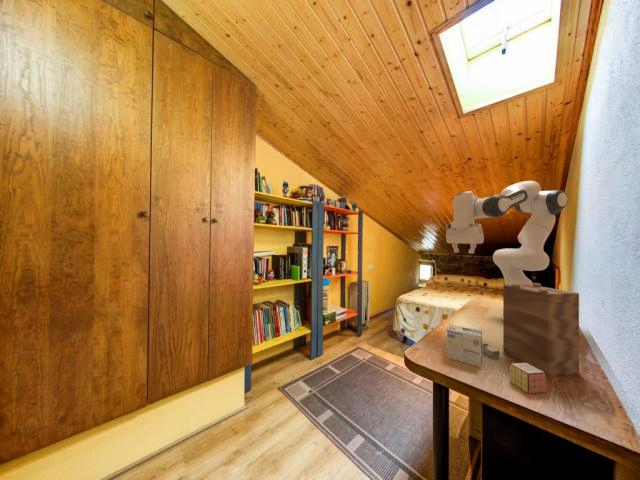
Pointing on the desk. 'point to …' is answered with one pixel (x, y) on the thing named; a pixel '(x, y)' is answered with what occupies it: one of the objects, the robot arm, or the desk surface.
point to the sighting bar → (490, 351)
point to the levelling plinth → (542, 328)
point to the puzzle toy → (527, 377)
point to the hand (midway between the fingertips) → (463, 252)
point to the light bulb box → (464, 345)
